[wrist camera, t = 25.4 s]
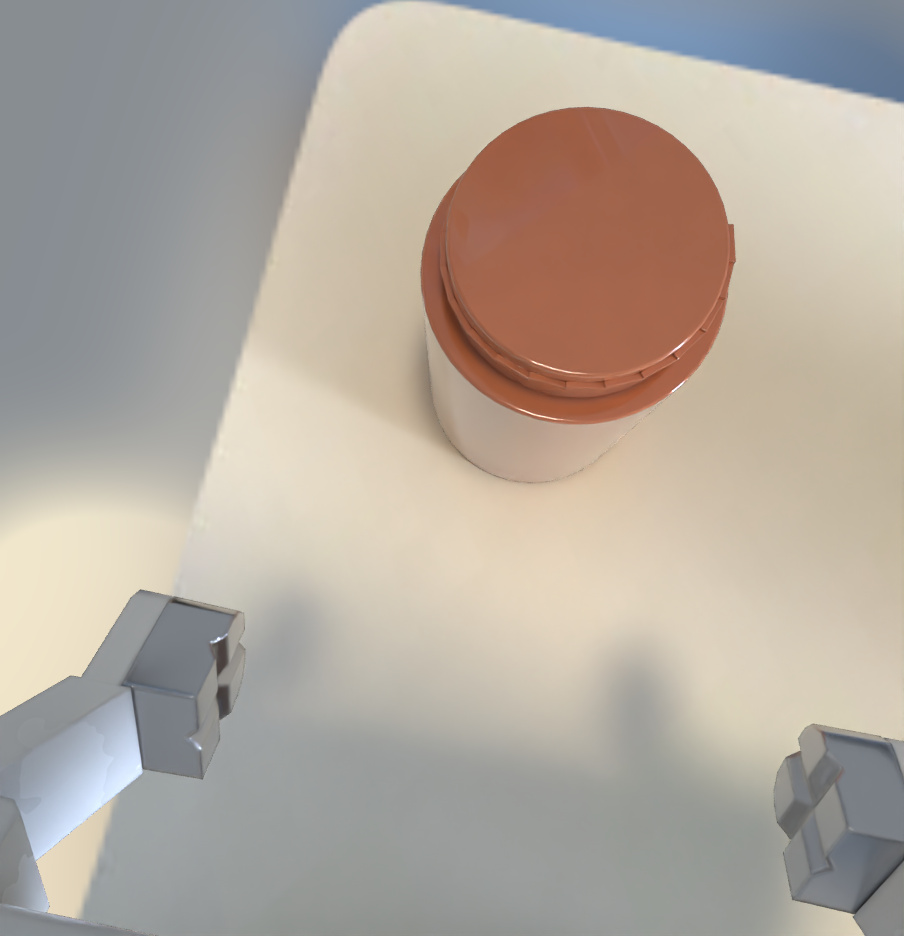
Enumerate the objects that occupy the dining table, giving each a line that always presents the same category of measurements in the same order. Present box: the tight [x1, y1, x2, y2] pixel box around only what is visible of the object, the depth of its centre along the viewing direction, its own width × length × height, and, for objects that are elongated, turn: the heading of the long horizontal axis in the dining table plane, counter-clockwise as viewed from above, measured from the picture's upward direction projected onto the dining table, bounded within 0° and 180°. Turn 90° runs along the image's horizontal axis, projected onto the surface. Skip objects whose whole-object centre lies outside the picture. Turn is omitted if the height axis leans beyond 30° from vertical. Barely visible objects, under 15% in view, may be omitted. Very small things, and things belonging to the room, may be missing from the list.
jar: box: [421, 107, 736, 483], centre depth 20 cm, size 6×6×11 cm
